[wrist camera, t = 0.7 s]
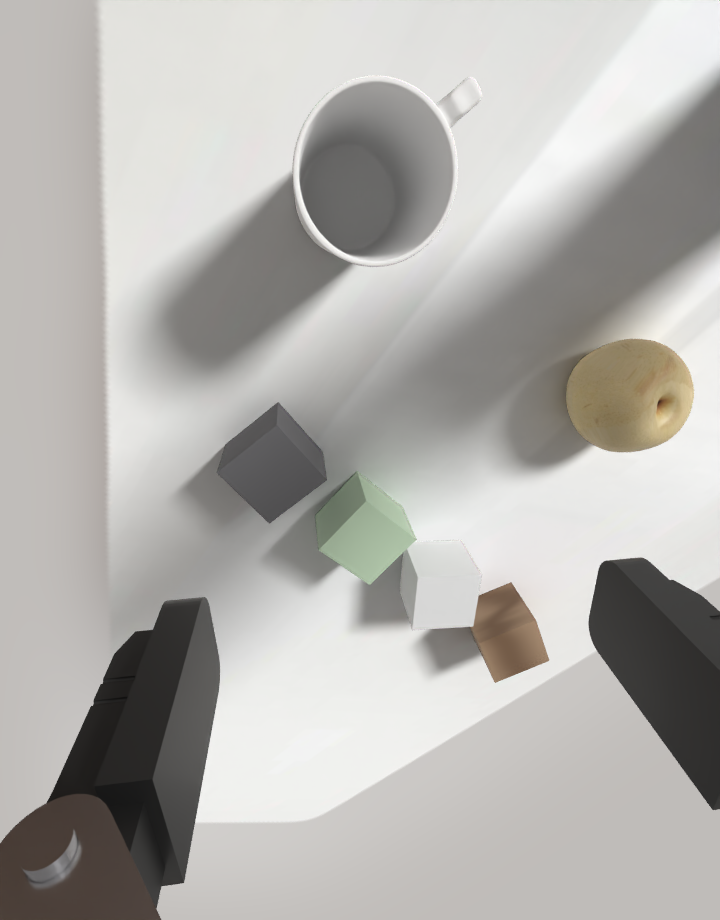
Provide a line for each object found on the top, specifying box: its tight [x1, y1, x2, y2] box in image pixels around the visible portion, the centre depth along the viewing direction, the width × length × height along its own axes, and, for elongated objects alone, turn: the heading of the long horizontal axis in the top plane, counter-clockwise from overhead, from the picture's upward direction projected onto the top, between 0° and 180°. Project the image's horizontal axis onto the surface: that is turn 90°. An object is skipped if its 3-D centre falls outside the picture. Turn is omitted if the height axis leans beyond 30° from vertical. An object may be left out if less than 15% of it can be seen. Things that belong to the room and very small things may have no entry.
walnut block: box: [470, 583, 549, 683], centre depth 44 cm, size 5×5×5 cm
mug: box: [293, 75, 482, 267], centre depth 25 cm, size 10×7×12 cm, turn 128°
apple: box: [566, 339, 694, 452], centre depth 35 cm, size 8×8×8 cm
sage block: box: [315, 471, 417, 585], centre depth 38 cm, size 5×5×5 cm
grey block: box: [400, 540, 482, 630], centre depth 41 cm, size 5×5×5 cm
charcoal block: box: [217, 402, 327, 523], centre depth 35 cm, size 5×5×5 cm
